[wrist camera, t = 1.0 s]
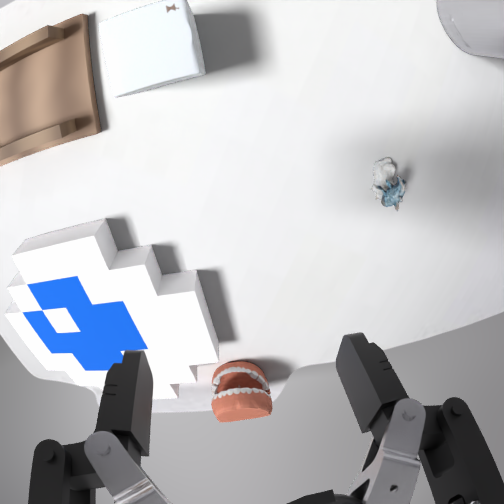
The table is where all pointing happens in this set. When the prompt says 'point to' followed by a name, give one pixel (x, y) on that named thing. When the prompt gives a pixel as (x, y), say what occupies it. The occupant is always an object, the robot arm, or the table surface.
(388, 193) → the sculpture
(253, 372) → the dentures
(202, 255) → the table surface
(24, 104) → the U-rest
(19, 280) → the pixel art tile
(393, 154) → the table surface
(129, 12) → the product box
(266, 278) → the table surface
